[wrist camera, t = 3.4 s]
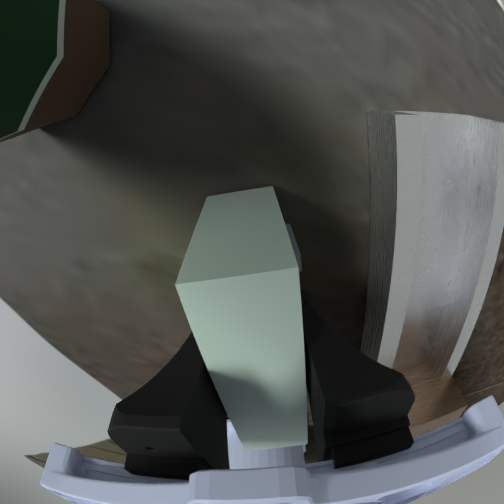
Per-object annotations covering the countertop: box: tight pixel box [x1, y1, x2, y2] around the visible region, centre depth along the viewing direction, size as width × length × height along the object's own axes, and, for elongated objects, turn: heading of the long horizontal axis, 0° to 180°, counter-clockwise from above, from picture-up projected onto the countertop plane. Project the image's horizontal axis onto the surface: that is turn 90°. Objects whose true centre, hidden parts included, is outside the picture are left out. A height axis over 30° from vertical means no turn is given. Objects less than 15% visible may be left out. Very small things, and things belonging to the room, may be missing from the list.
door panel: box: [175, 186, 308, 451], centre depth 12 cm, size 10×3×7 cm, turn 9°
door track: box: [361, 110, 504, 437], centre depth 14 cm, size 20×7×6 cm, turn 9°
